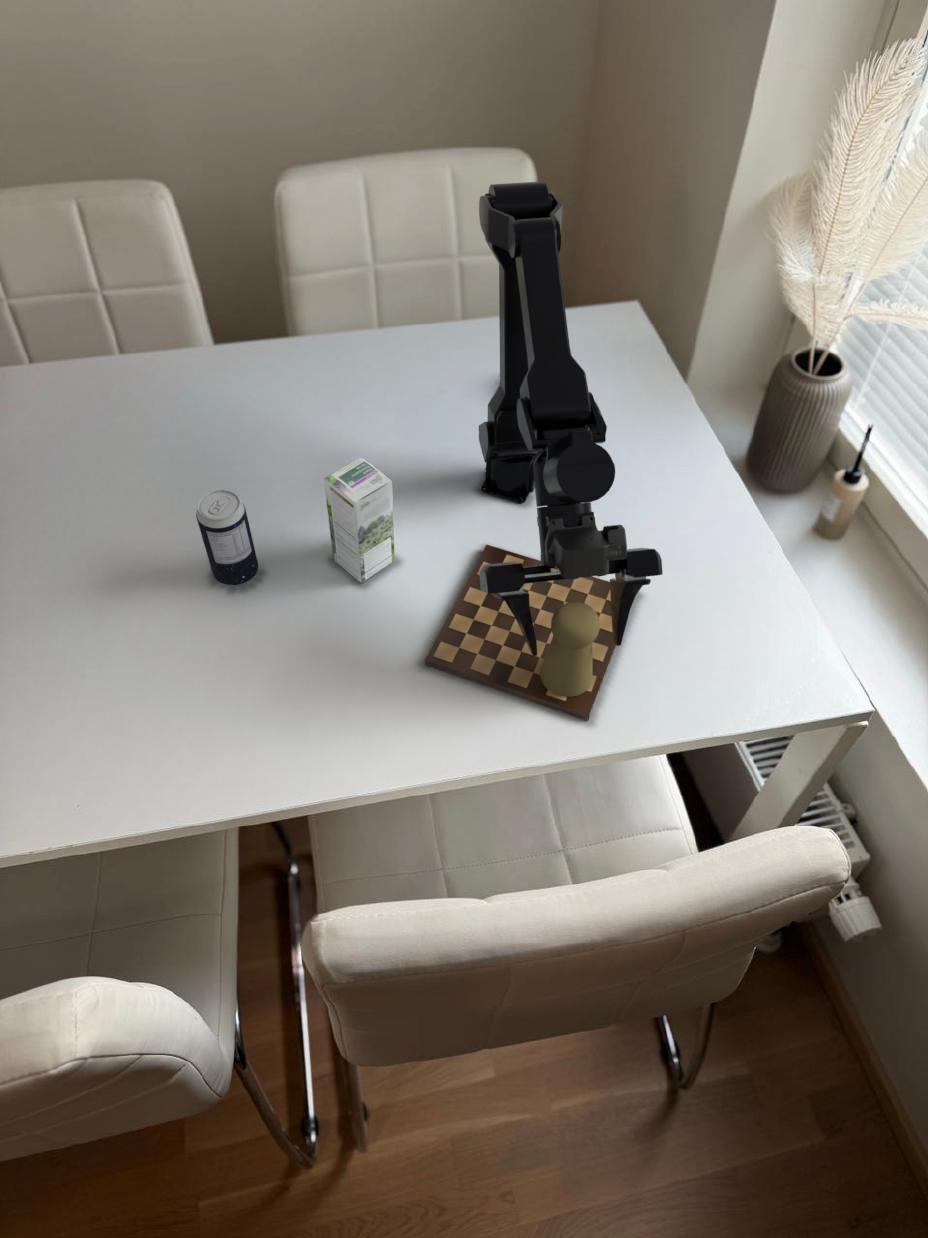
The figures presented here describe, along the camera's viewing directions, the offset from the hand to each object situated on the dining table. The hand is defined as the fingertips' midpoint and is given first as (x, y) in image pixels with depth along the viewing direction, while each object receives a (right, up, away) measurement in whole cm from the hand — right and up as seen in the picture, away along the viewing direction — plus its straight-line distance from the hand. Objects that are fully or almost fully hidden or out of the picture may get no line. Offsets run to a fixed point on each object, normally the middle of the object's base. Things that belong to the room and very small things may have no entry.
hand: (576, 650), depth 99 cm
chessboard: (-4, +2, +12) cm, 13 cm away
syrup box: (-25, +10, +19) cm, 33 cm away
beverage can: (-41, +9, +17) cm, 45 cm away
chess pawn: (0, -3, +7) cm, 7 cm away
